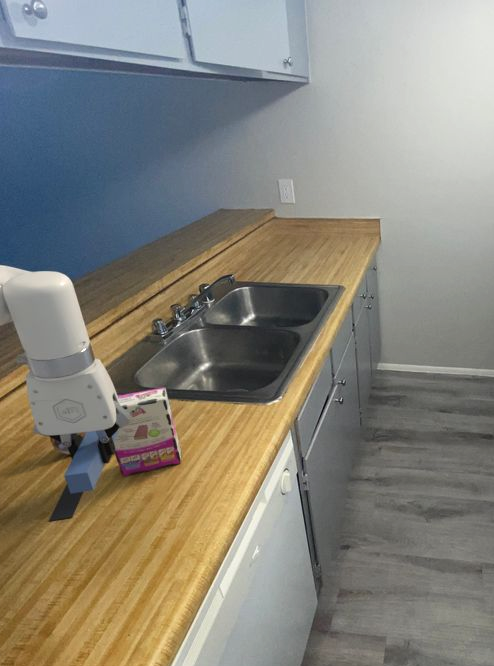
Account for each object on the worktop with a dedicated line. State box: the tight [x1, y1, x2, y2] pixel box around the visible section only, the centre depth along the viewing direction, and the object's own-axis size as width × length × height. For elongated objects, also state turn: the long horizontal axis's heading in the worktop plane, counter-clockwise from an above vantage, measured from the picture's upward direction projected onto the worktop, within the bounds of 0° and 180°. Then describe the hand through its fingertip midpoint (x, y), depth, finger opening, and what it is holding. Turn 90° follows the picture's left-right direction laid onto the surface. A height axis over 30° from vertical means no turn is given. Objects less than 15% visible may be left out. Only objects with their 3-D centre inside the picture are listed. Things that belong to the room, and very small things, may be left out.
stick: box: [63, 431, 118, 493], centre depth 75 cm, size 3×14×4 cm, turn 15°
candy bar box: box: [114, 386, 182, 477], centre depth 95 cm, size 11×5×16 cm, turn 114°
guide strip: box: [48, 484, 84, 522], centre depth 91 cm, size 4×14×1 cm, turn 15°
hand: (95, 458), depth 75 cm, fingers closed on stick, 3 cm apart
